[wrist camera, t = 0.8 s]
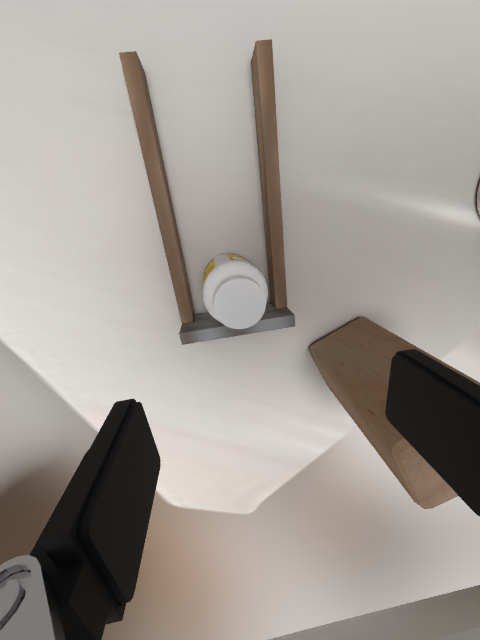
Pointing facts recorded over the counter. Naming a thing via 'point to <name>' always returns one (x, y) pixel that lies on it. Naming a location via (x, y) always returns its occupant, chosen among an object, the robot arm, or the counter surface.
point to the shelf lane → (266, 125)
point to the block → (377, 401)
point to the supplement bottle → (234, 291)
